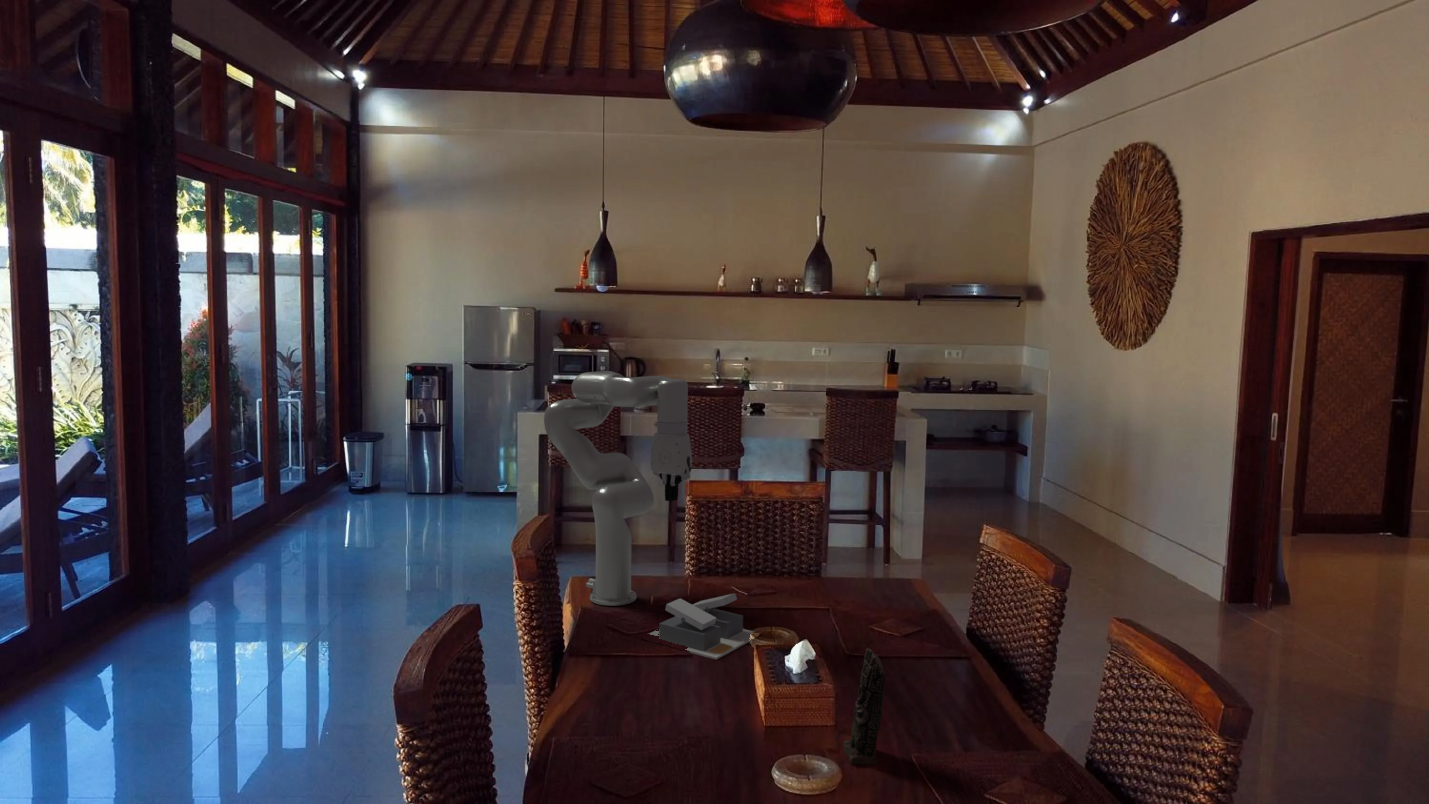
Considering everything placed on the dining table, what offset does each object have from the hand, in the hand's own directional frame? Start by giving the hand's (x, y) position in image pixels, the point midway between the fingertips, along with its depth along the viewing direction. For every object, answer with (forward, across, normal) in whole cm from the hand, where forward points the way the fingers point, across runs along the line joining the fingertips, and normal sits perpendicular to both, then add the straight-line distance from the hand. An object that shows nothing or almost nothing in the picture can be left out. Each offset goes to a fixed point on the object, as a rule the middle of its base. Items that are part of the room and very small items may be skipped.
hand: (671, 500), depth 250 cm
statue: (+31, +73, -39) cm, 88 cm away
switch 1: (+25, +14, -11) cm, 30 cm away
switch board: (+31, +14, -6) cm, 35 cm away
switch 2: (+25, +14, -1) cm, 28 cm away
